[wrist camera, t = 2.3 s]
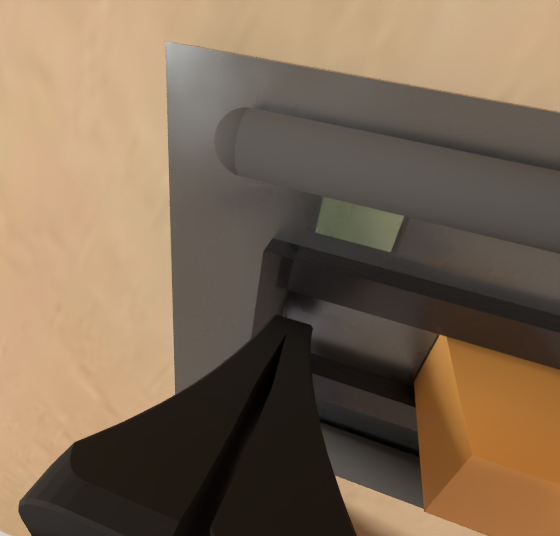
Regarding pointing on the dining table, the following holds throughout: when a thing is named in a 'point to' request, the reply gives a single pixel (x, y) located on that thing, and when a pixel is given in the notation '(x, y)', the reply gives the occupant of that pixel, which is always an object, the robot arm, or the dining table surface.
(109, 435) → the robot arm
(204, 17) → the dining table surface
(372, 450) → the grey rails and frame
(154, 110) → the dining table surface
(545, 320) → the plate
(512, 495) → the orange rectangular box
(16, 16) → the dining table surface
